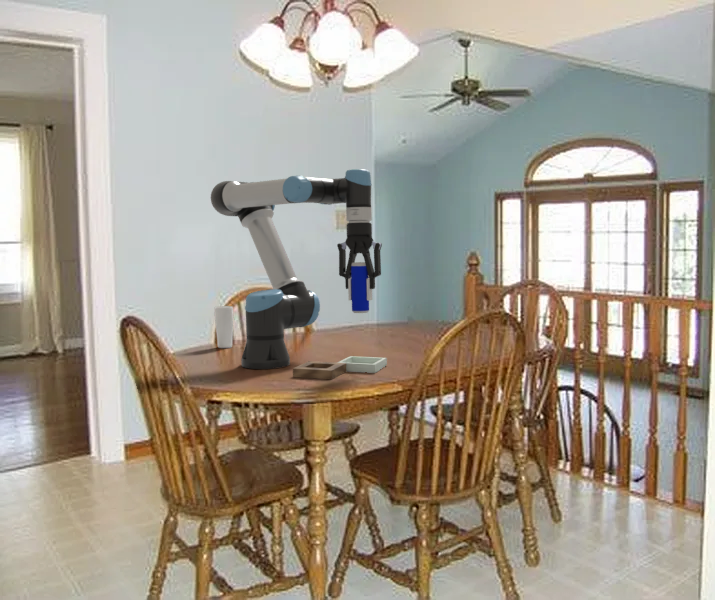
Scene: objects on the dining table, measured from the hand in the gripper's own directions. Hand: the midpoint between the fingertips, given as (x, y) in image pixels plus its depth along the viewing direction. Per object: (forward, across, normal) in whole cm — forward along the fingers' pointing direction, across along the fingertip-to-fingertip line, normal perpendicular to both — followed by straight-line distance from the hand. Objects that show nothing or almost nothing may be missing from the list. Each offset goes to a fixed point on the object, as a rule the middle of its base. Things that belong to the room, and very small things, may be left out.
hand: (360, 299), depth 209 cm
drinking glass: (+21, -63, +25) cm, 71 cm away
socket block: (+21, -9, -11) cm, 25 cm away
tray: (+21, 0, +1) cm, 21 cm away
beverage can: (+4, 0, 0) cm, 4 cm away
